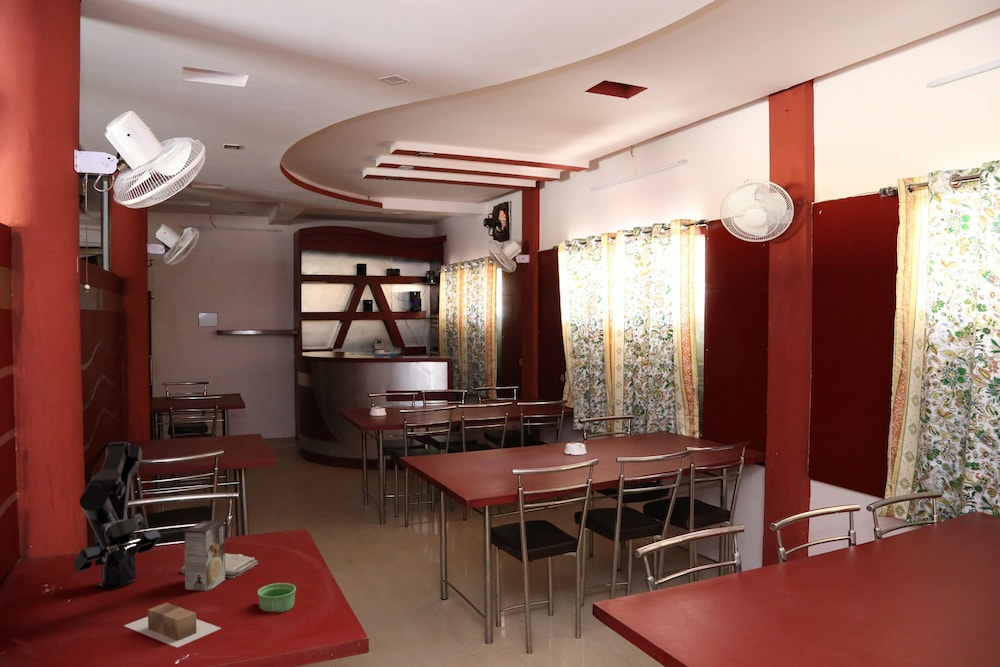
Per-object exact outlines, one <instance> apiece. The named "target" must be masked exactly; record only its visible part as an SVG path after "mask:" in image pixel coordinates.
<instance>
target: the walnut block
mask: <svg viewBox="0 0 1000 667" xmlns="http://www.w3.org/2000/svg"><path fill="white" fill-rule="evenodd" d="M147 617H148V629H149V630H152V631H154V632H157V633H159V634H162V635H164V636H167V637H169V638H172V639H174V640H177V641H179V640H181V639H184V638H186V637H188V636H191V635H193V634H196V619H197V613H196V612H194V611H191V610H188V609H186V608H183V607H181V606H177V605H174V604H172V603H169V602H164V603H161V604H158V605H156V606H154V607H151V608H148V609H147Z"/></svg>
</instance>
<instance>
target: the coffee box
mask: <svg viewBox="0 0 1000 667" xmlns="http://www.w3.org/2000/svg"><path fill="white" fill-rule="evenodd" d="M225 532H226V529H225V521H220V520H219V521H213V520H202V521H201V522H199V523H196V524H194V525H192V526H190V527H189V528H187V529H184V532H183V533H184V534H183V535H184V566H185V573H184V586H185V587H184V588H185V590H189V591H191V590H192V591H193V590H194V591H205V592H207V591H209V590H212V589H214V588H216V587H217V586H218V585H220V584H221V583H222V582H224V581H226V578H225V553H226V543H225V541H226V540H225V538H226V537H225Z"/></svg>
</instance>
